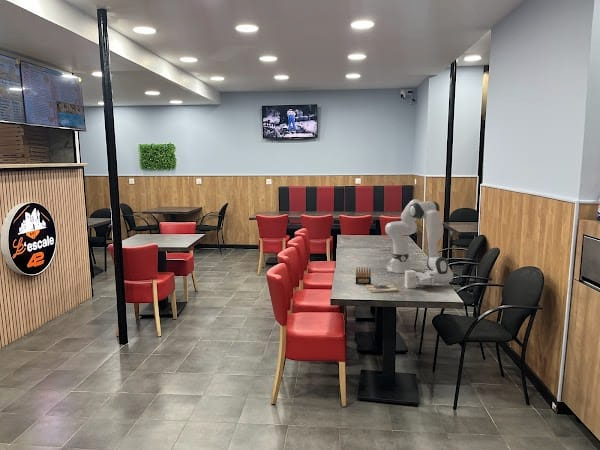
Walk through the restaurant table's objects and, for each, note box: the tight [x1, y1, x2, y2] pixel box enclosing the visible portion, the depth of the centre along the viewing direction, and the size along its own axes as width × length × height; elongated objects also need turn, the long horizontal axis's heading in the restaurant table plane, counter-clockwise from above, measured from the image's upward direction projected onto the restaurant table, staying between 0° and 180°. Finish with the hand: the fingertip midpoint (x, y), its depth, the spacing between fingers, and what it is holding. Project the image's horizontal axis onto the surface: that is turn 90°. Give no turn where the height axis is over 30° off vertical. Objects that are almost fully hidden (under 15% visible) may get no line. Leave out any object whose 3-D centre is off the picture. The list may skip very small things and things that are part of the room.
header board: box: [364, 283, 399, 294], centre depth 297 cm, size 16×18×1 cm
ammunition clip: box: [355, 266, 372, 285], centre depth 309 cm, size 11×2×12 cm, turn 80°
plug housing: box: [404, 269, 417, 289], centre depth 299 cm, size 5×6×11 cm
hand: (409, 278), depth 299 cm, fingers closed on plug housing, 5 cm apart
